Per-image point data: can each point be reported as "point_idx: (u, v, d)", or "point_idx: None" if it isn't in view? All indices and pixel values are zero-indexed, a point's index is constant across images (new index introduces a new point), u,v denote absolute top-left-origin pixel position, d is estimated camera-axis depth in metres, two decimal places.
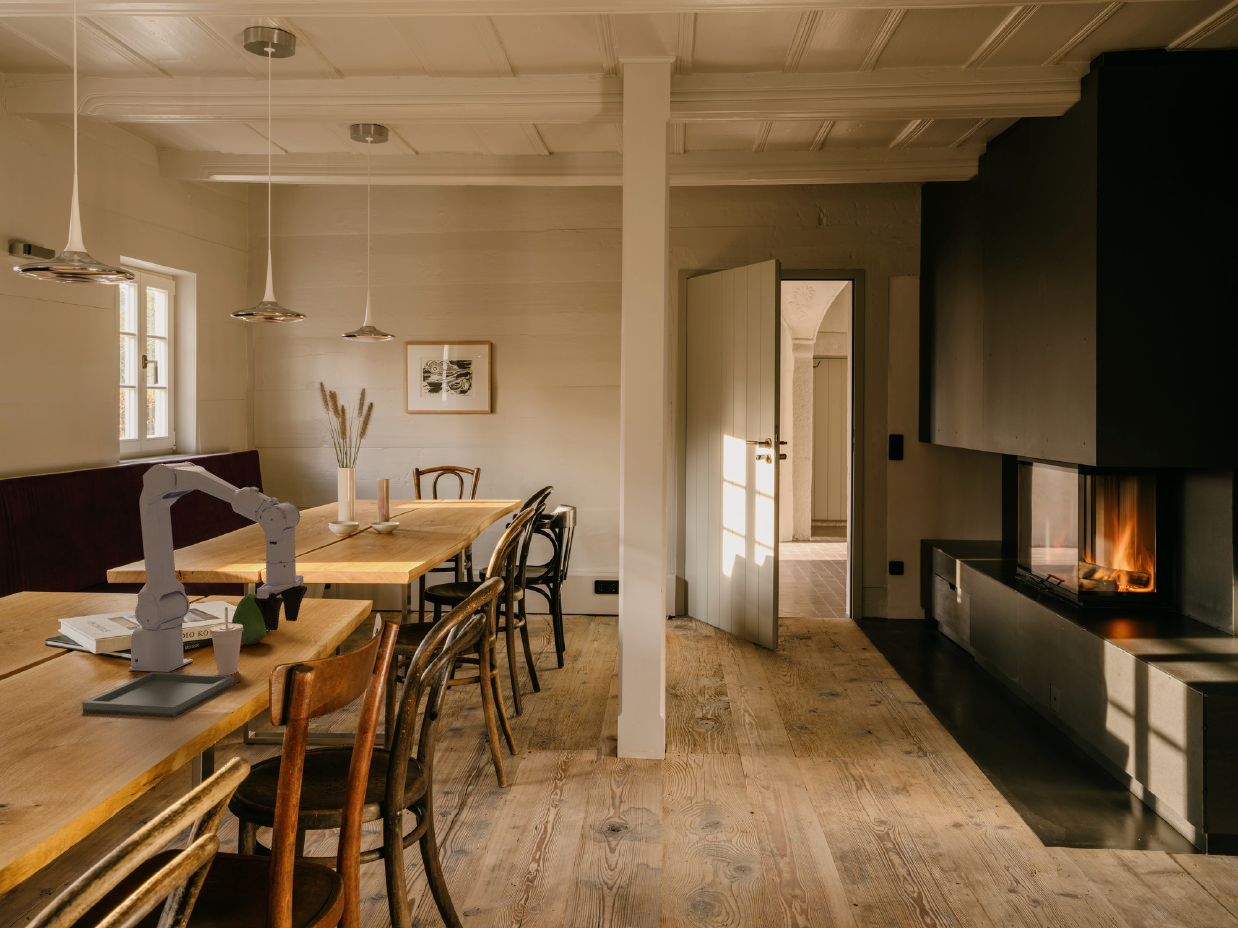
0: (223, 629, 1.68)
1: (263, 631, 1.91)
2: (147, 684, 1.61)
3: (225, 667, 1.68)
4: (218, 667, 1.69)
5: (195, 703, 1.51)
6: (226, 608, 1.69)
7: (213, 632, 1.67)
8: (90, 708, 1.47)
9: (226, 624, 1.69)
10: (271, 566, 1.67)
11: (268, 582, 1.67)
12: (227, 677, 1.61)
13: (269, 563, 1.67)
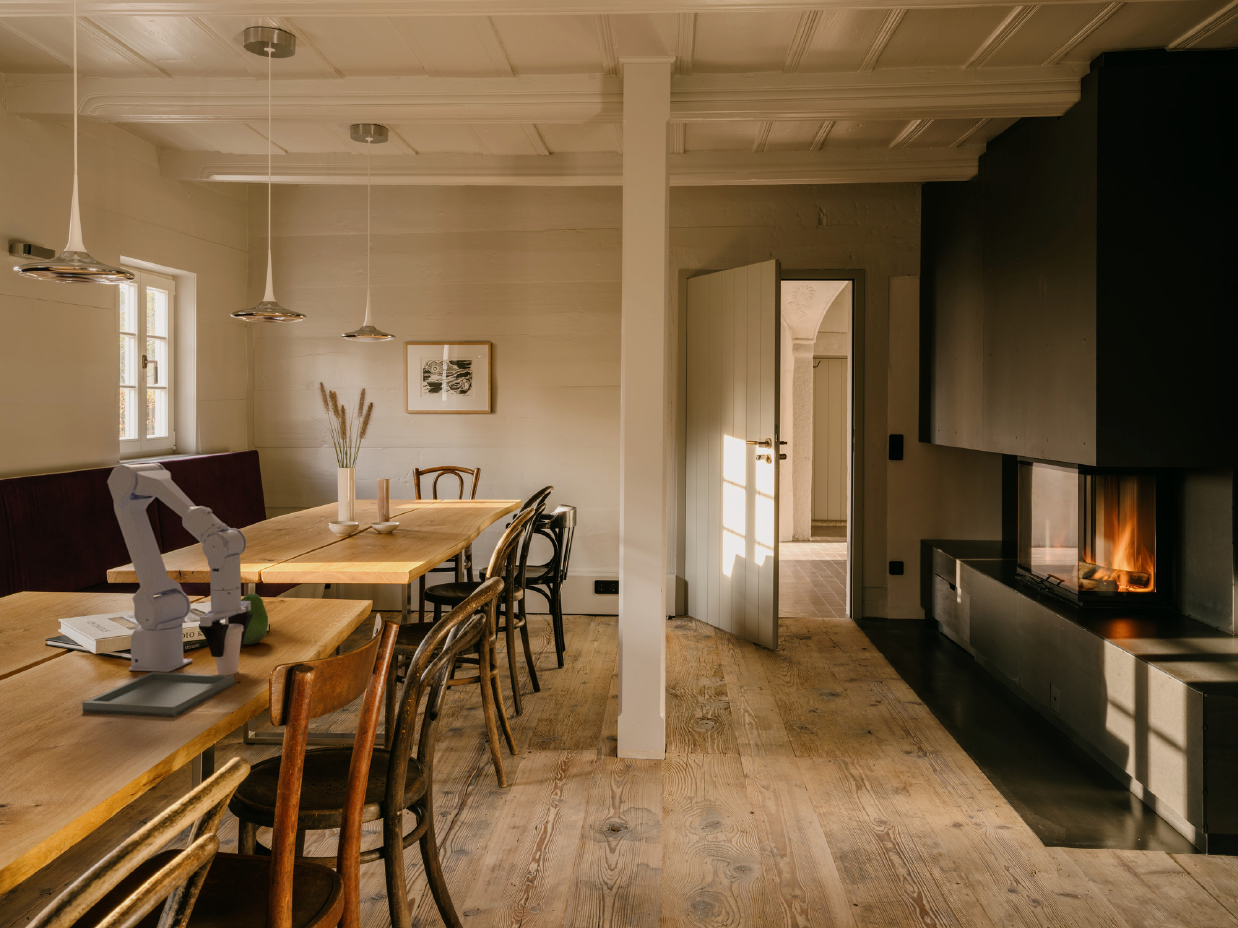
0: None
1: (263, 631, 1.91)
2: (147, 684, 1.61)
3: (225, 667, 1.68)
4: (218, 667, 1.69)
5: (195, 703, 1.51)
6: None
7: None
8: (90, 708, 1.47)
9: None
10: (215, 593, 1.67)
11: (212, 609, 1.67)
12: (227, 677, 1.61)
13: (213, 590, 1.67)
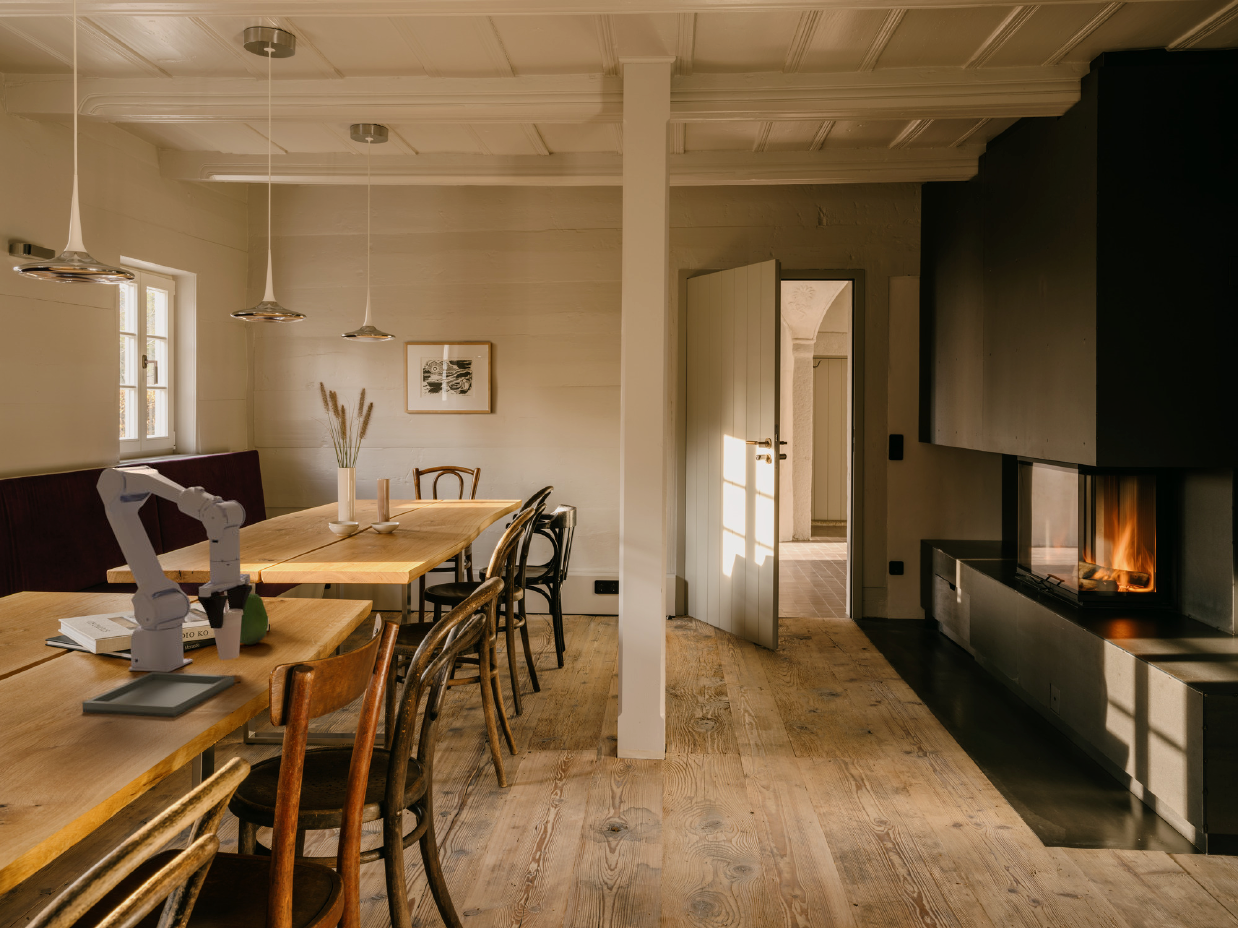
0: None
1: (263, 631, 1.91)
2: (147, 684, 1.61)
3: (226, 651, 1.68)
4: (219, 652, 1.68)
5: (195, 703, 1.51)
6: (225, 592, 1.69)
7: None
8: (90, 708, 1.47)
9: (226, 608, 1.69)
10: (214, 565, 1.66)
11: (212, 581, 1.67)
12: (227, 677, 1.61)
13: (212, 562, 1.66)
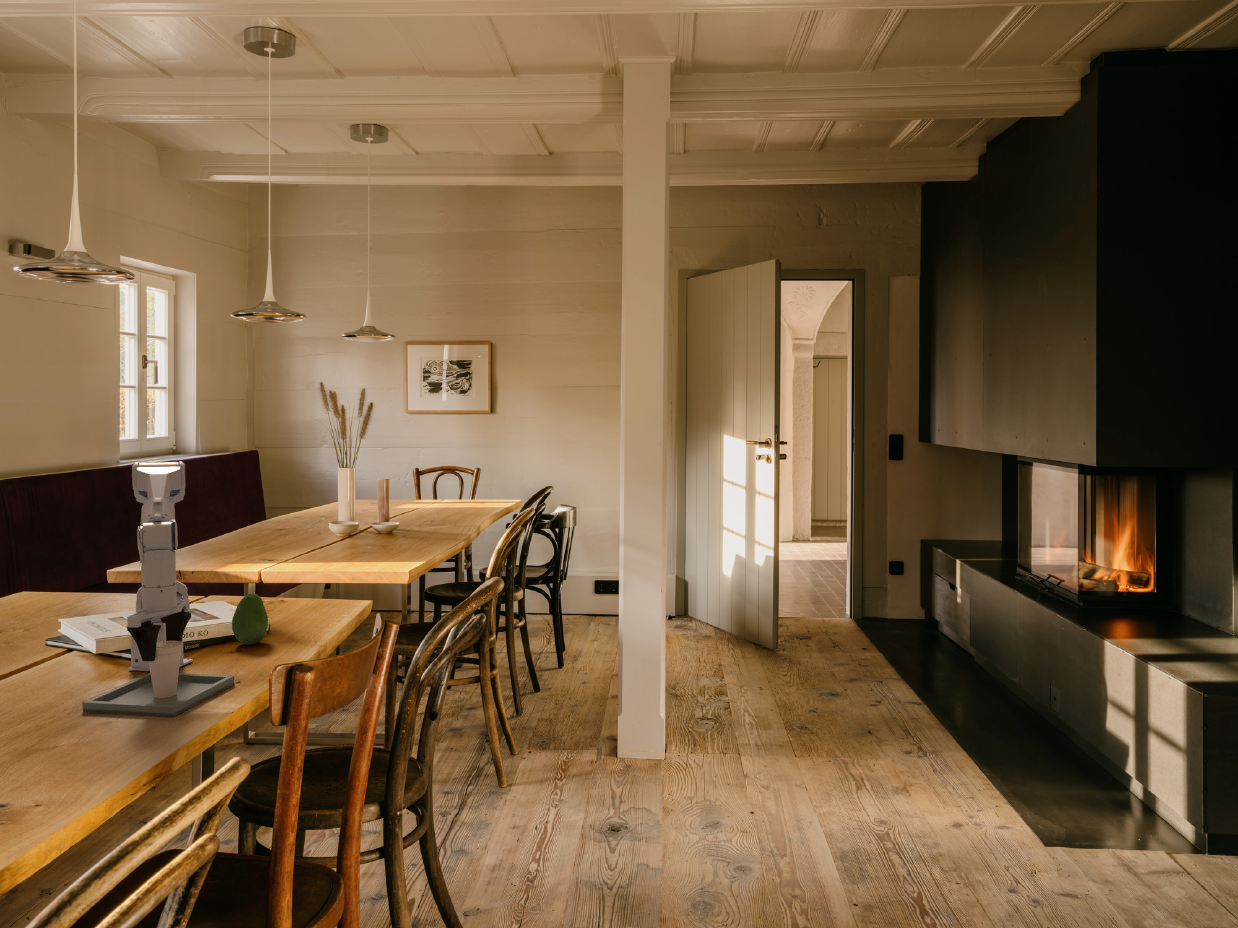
0: (161, 647, 1.52)
1: (263, 631, 1.91)
2: (147, 684, 1.61)
3: (163, 689, 1.53)
4: (155, 689, 1.53)
5: (195, 703, 1.51)
6: (164, 624, 1.53)
7: None
8: (90, 708, 1.47)
9: (164, 641, 1.53)
10: (146, 591, 1.51)
11: (143, 608, 1.52)
12: (227, 677, 1.61)
13: (144, 588, 1.51)
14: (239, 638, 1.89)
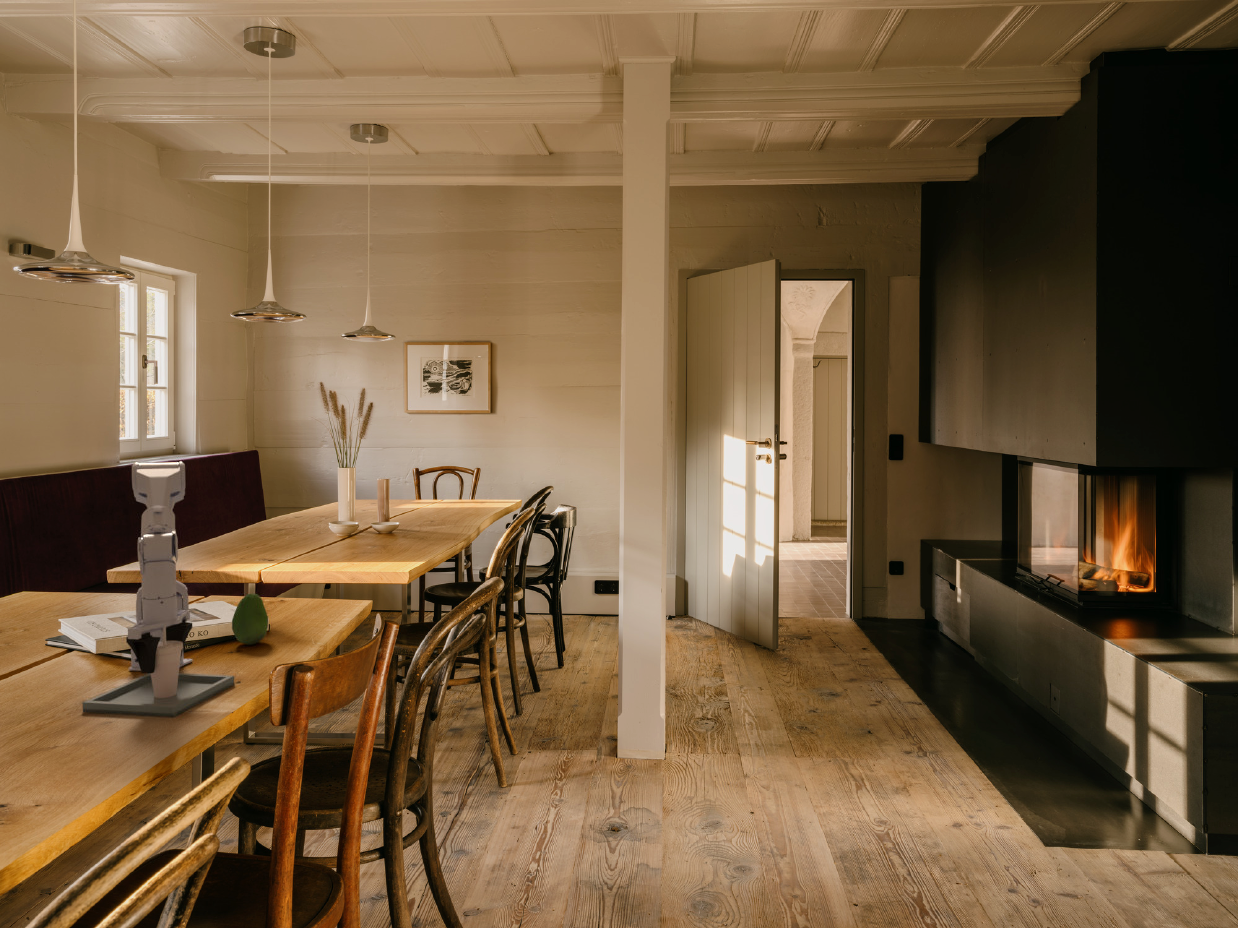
0: (161, 647, 1.52)
1: (263, 631, 1.91)
2: (147, 684, 1.61)
3: (163, 689, 1.53)
4: (155, 689, 1.53)
5: (195, 703, 1.51)
6: None
7: None
8: (90, 708, 1.47)
9: (164, 641, 1.54)
10: (147, 602, 1.51)
11: (144, 620, 1.52)
12: (227, 677, 1.61)
13: (144, 599, 1.51)
14: (239, 638, 1.89)
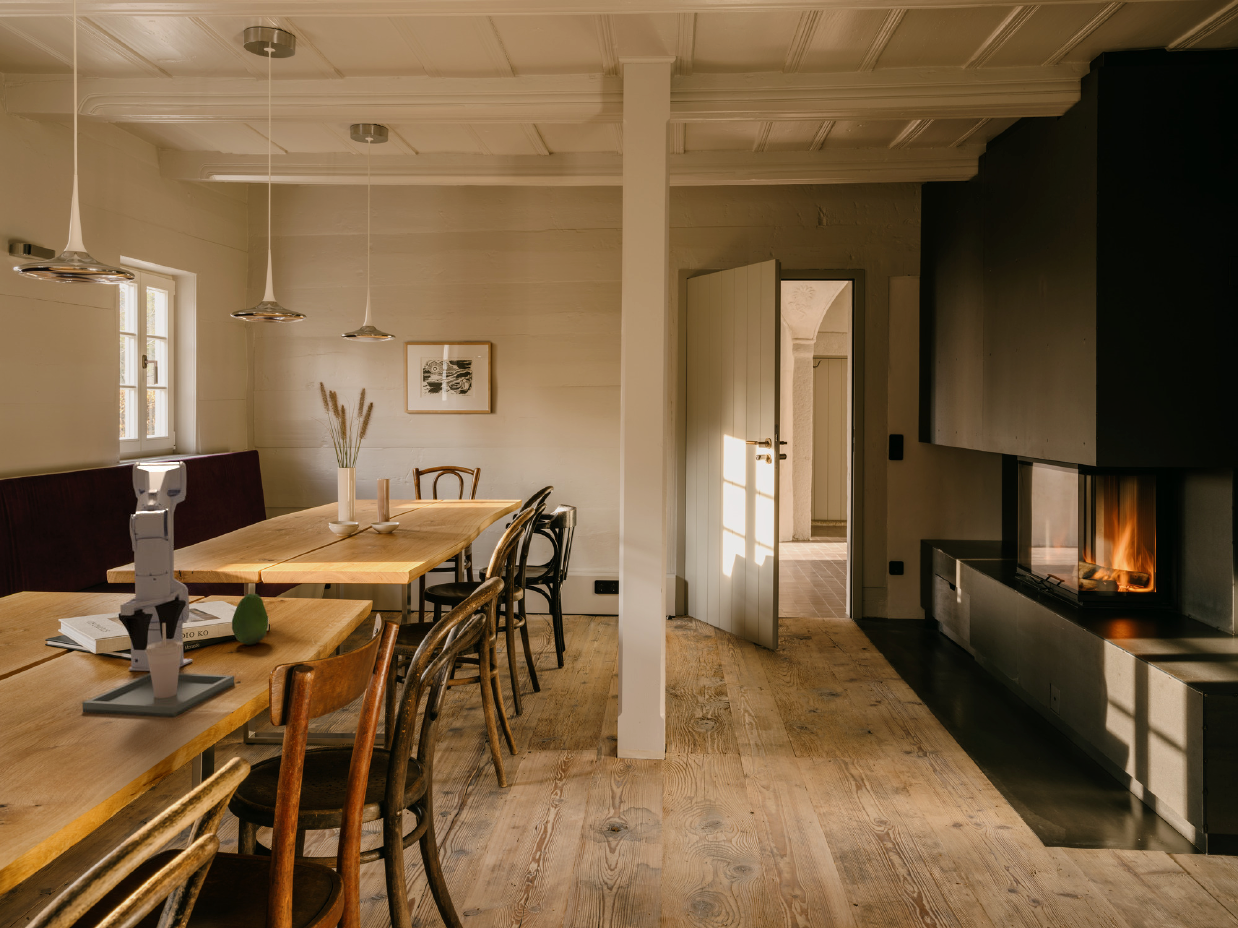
0: (161, 647, 1.52)
1: (263, 631, 1.91)
2: (147, 684, 1.61)
3: (163, 689, 1.53)
4: (155, 689, 1.53)
5: (195, 703, 1.51)
6: (164, 624, 1.53)
7: (149, 651, 1.51)
8: (90, 708, 1.47)
9: (164, 641, 1.54)
10: (139, 579, 1.51)
11: (137, 597, 1.52)
12: (227, 677, 1.61)
13: (137, 576, 1.51)
14: (239, 638, 1.89)
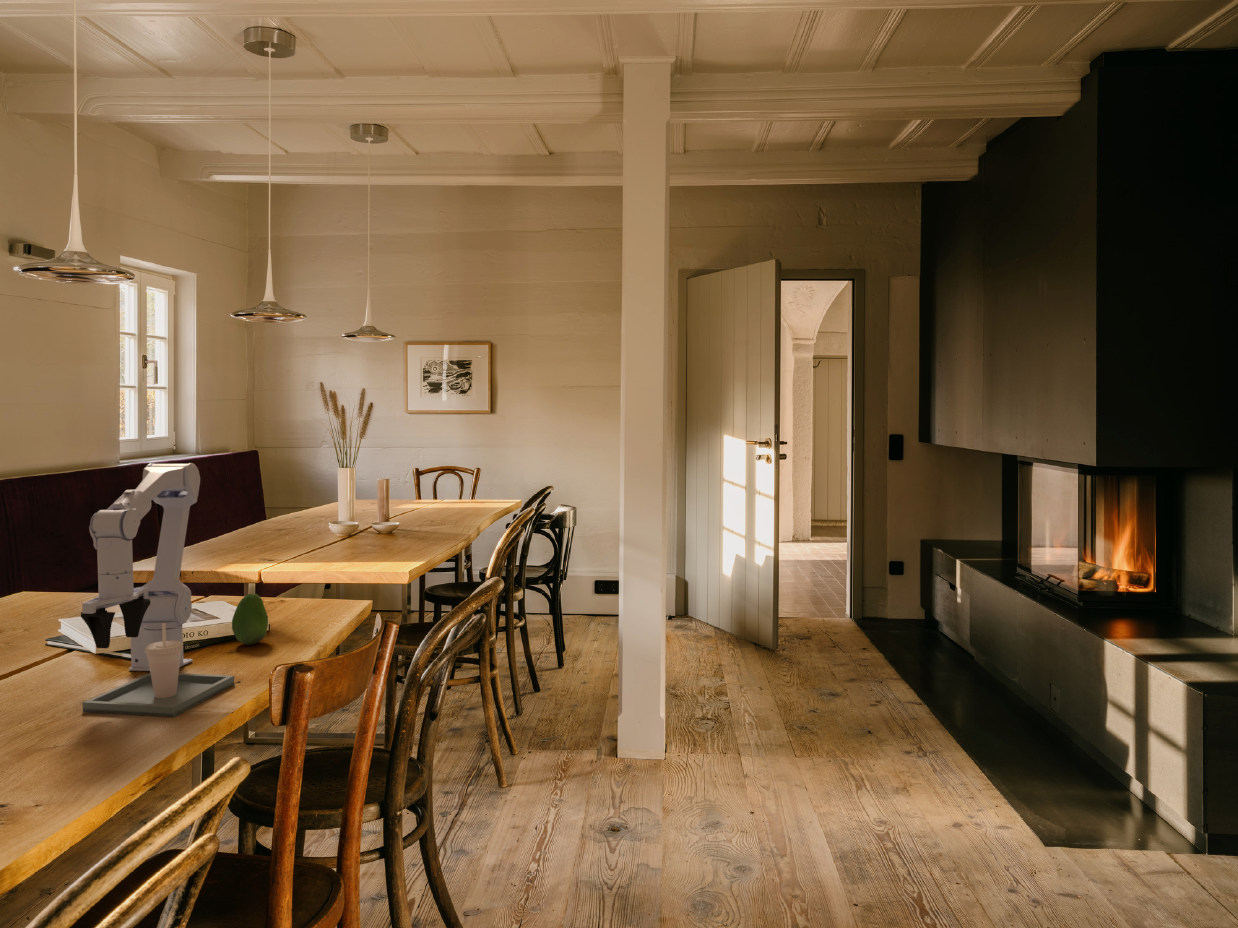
0: (161, 647, 1.52)
1: (263, 631, 1.91)
2: (147, 684, 1.61)
3: (163, 689, 1.53)
4: (155, 689, 1.53)
5: (195, 703, 1.51)
6: (164, 624, 1.53)
7: (149, 651, 1.51)
8: (90, 708, 1.47)
9: (164, 641, 1.54)
10: (102, 578, 1.52)
11: (100, 595, 1.53)
12: (227, 677, 1.61)
13: (100, 574, 1.52)
14: (239, 638, 1.89)
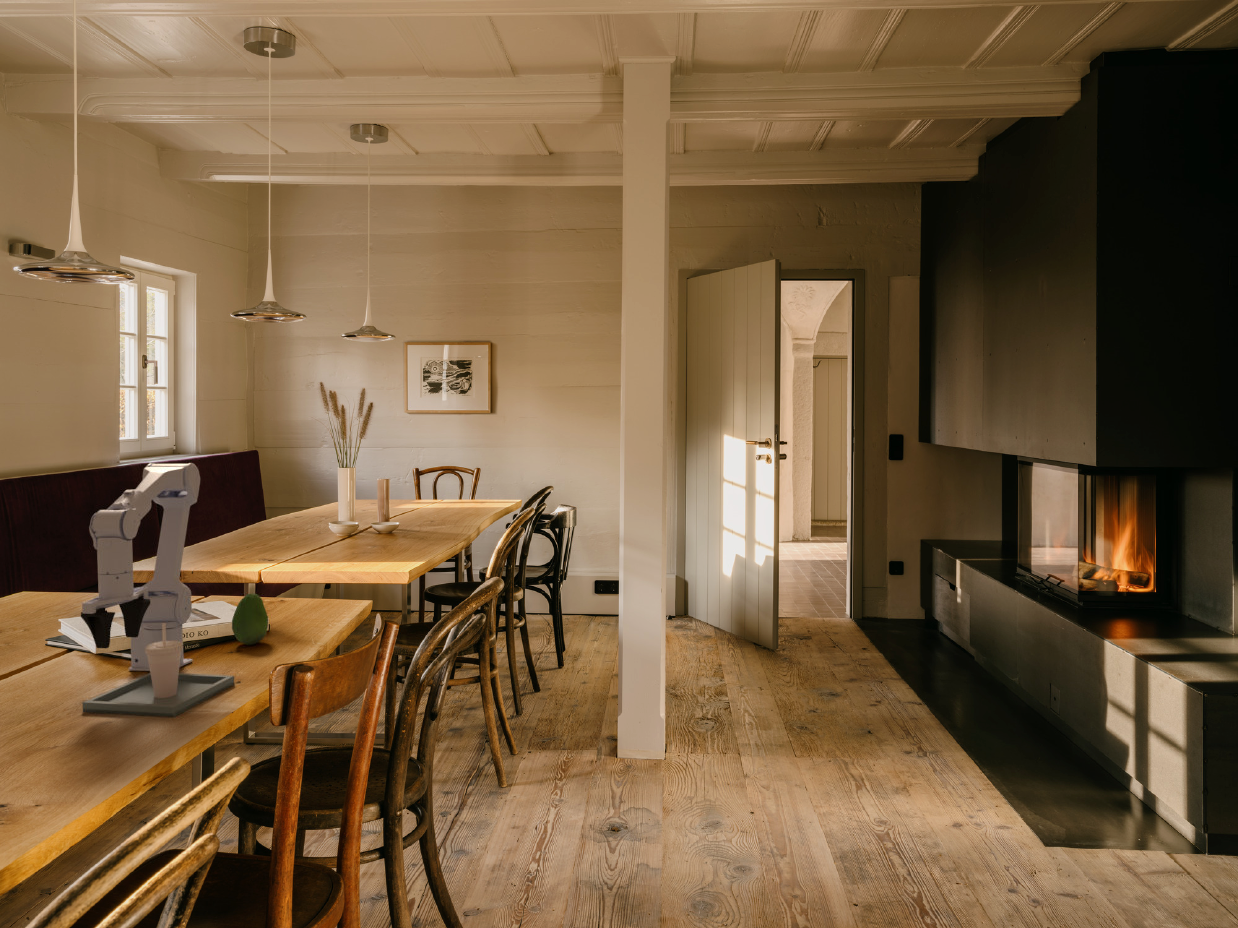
0: (161, 647, 1.52)
1: (263, 631, 1.91)
2: (147, 684, 1.61)
3: (163, 689, 1.53)
4: (155, 689, 1.53)
5: (195, 703, 1.51)
6: (164, 624, 1.53)
7: (149, 651, 1.51)
8: (90, 708, 1.47)
9: (164, 641, 1.54)
10: (102, 578, 1.52)
11: (100, 595, 1.53)
12: (227, 677, 1.61)
13: (100, 574, 1.52)
14: (239, 638, 1.89)
